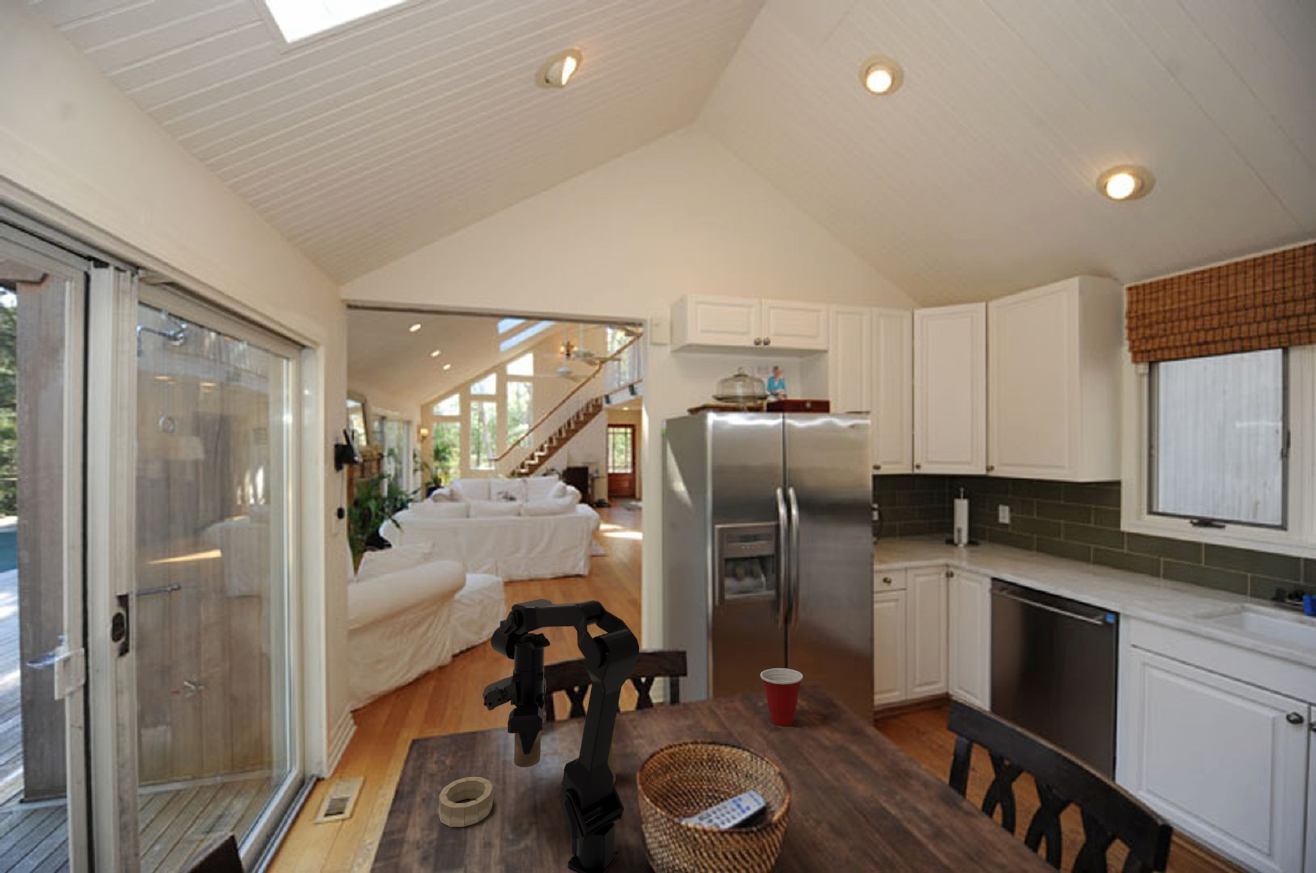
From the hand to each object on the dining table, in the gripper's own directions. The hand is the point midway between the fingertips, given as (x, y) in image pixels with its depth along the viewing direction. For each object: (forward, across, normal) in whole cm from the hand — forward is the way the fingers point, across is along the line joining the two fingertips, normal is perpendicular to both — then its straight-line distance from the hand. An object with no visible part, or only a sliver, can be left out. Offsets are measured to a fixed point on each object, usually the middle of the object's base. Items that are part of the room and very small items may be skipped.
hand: (527, 746), depth 107 cm
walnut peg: (+3, 0, 0) cm, 3 cm away
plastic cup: (+11, -25, +62) cm, 68 cm away
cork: (+11, -6, +15) cm, 20 cm away
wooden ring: (+11, 0, -11) cm, 16 cm away
